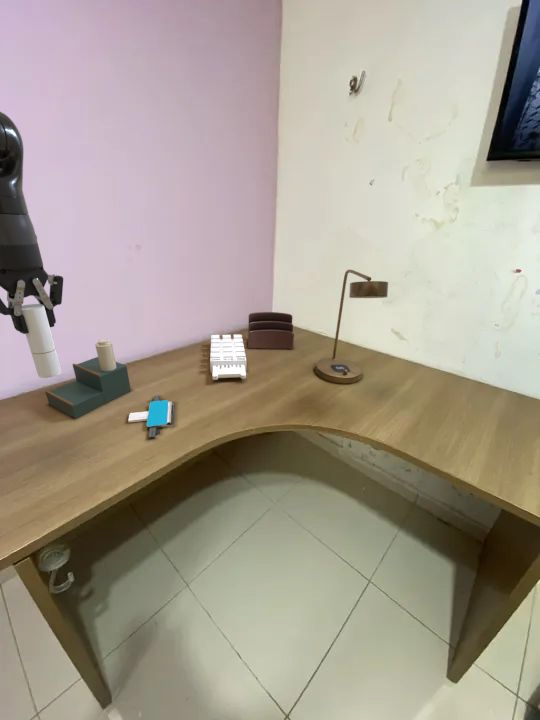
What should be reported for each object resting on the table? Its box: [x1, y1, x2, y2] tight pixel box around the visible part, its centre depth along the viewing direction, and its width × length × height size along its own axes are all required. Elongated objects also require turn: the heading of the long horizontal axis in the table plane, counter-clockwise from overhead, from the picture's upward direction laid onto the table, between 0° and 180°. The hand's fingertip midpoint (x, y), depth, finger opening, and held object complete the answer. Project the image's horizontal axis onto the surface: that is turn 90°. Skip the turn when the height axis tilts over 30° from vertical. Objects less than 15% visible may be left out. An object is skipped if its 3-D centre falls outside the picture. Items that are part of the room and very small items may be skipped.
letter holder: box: [247, 311, 295, 350], centre depth 137 cm, size 10×20×14 cm, turn 93°
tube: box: [21, 303, 63, 379], centre depth 65 cm, size 4×4×15 cm
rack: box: [44, 356, 132, 419], centre depth 93 cm, size 13×18×10 cm
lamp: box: [315, 269, 389, 385], centre depth 105 cm, size 17×27×38 cm, turn 8°
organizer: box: [209, 334, 248, 381], centre depth 121 cm, size 13×5×35 cm
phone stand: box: [127, 395, 175, 440], centre depth 87 cm, size 20×12×2 cm, turn 15°
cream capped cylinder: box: [95, 338, 117, 371], centre depth 92 cm, size 4×4×9 cm
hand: (37, 329), depth 64 cm, fingers closed on tube, 4 cm apart
